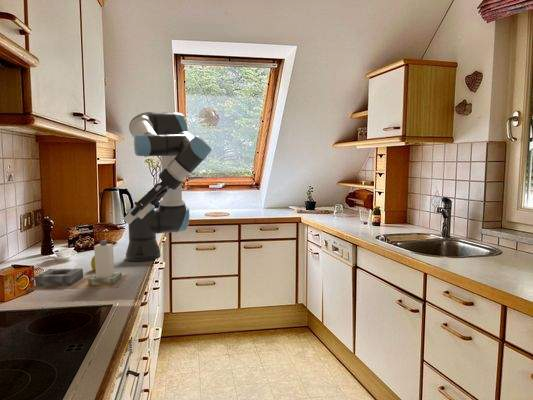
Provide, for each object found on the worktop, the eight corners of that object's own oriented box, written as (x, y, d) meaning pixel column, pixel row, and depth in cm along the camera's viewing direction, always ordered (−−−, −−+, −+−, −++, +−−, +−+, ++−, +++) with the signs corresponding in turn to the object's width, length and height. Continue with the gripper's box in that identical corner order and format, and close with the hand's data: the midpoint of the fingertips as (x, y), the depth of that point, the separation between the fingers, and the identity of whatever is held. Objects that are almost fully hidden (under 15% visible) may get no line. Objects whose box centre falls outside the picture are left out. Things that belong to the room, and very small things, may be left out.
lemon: (99, 276, 161) (98, 255, 160) (88, 274, 163) (87, 254, 162) (109, 272, 166) (108, 252, 165) (99, 271, 168) (97, 251, 167)
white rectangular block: (114, 279, 150) (112, 239, 149) (110, 282, 146) (108, 241, 145) (100, 279, 150) (98, 239, 149) (96, 283, 146) (93, 241, 145)
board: (132, 278, 156) (132, 264, 156) (117, 292, 140) (116, 276, 140) (52, 280, 156) (51, 266, 156) (27, 293, 140) (26, 278, 140)
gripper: (174, 184, 132) (129, 232, 134) (189, 180, 157) (150, 221, 159) (156, 167, 132) (111, 216, 133) (174, 166, 157) (135, 207, 158)
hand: (132, 219), depth 146 cm, fingers open, 13 cm apart
